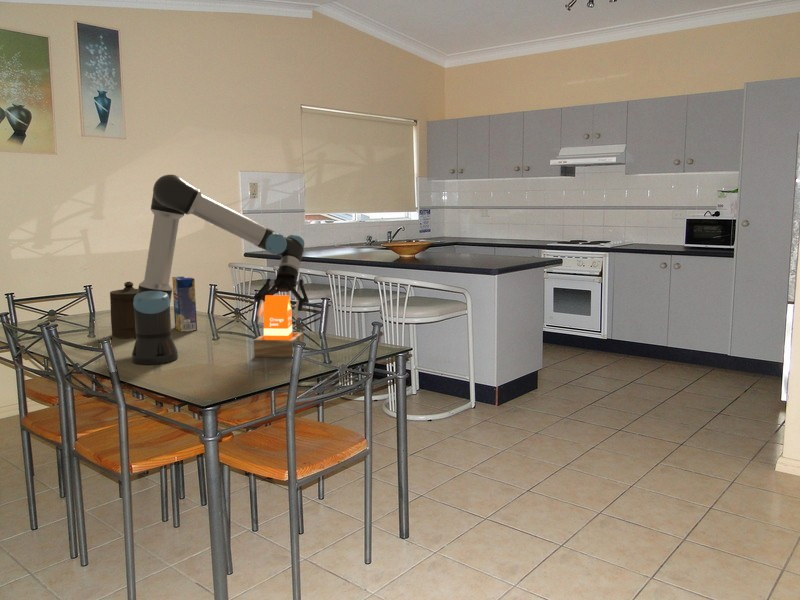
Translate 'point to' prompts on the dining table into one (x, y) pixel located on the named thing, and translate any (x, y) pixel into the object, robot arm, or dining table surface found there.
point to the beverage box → (184, 303)
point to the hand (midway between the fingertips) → (276, 317)
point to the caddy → (276, 346)
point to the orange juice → (277, 317)
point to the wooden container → (123, 312)
